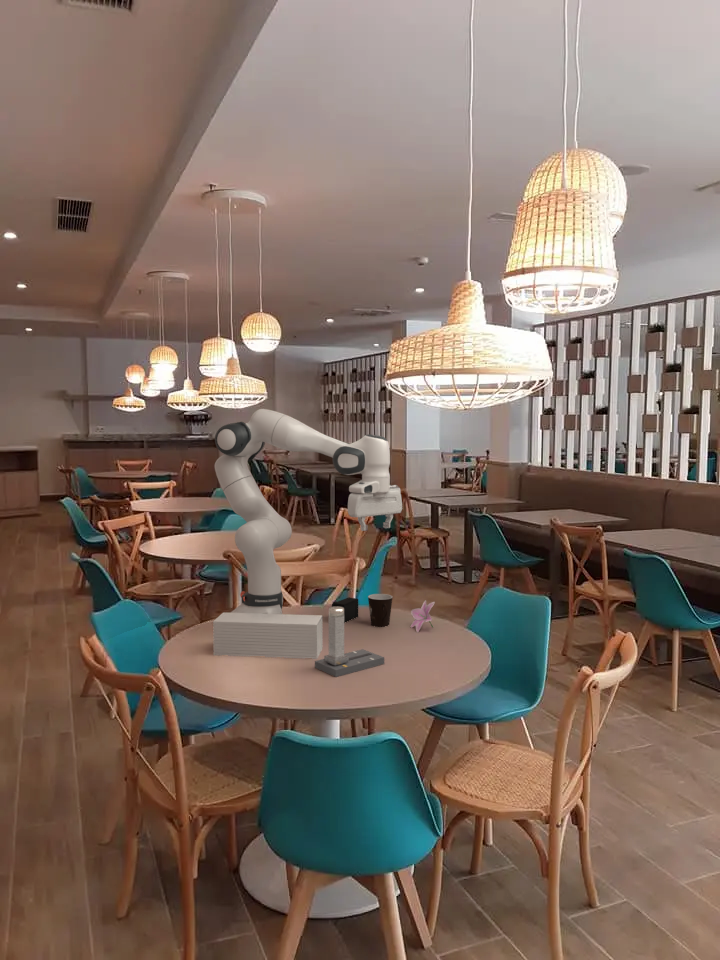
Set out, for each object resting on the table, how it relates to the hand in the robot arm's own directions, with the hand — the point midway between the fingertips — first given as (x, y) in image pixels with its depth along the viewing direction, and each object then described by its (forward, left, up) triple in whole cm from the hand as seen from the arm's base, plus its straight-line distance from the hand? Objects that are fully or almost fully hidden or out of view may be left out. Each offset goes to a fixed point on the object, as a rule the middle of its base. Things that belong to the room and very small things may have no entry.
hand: (375, 529), depth 236 cm
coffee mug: (+6, +20, -37) cm, 43 cm away
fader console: (-12, -20, -37) cm, 44 cm away
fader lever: (-16, -22, -35) cm, 44 cm away
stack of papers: (-34, -2, -38) cm, 51 cm away
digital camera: (-4, +31, -37) cm, 49 cm away
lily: (+20, +14, -37) cm, 45 cm away
